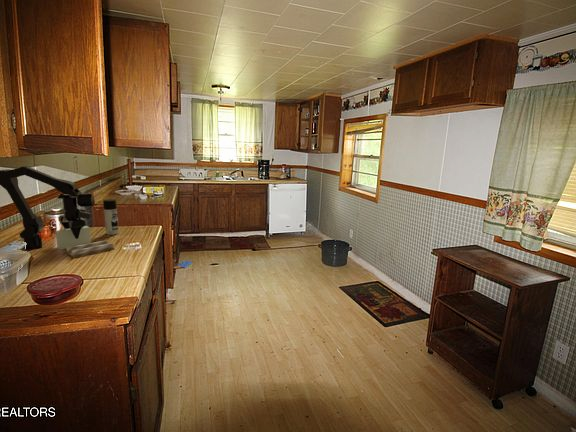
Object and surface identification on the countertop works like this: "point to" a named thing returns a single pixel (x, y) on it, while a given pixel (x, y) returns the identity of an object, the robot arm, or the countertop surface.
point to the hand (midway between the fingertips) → (73, 236)
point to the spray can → (111, 217)
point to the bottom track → (89, 249)
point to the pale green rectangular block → (72, 238)
